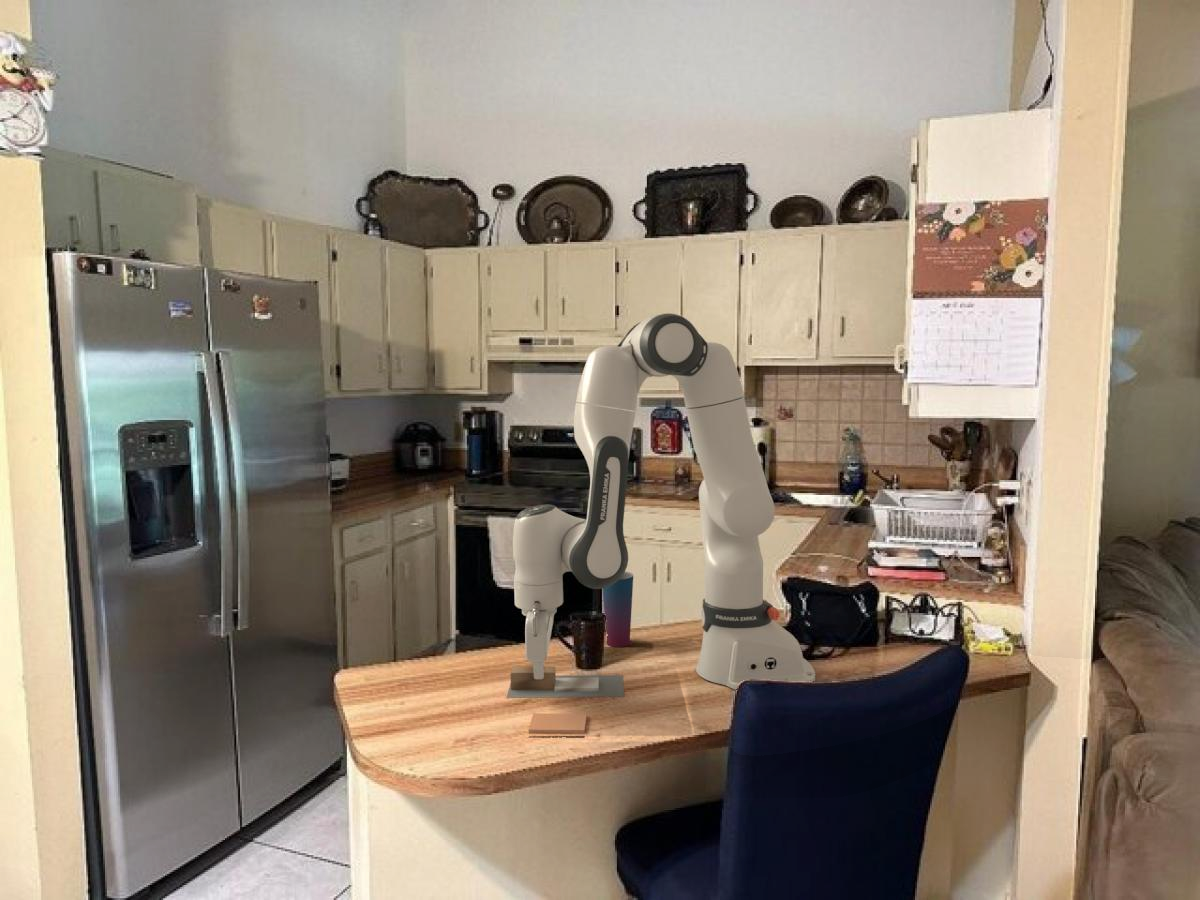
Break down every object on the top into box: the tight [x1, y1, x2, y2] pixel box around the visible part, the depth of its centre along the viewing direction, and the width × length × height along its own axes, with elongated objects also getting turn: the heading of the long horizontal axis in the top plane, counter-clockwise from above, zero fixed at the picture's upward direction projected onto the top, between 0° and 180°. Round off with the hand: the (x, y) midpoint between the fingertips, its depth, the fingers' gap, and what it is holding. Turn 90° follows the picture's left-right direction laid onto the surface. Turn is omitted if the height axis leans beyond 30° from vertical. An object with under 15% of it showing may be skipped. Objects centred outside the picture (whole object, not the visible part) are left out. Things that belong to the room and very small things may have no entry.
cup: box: [601, 571, 634, 648], centre depth 174 cm, size 7×7×15 cm
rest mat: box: [506, 674, 625, 699], centre depth 150 cm, size 21×10×1 cm, turn 90°
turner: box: [510, 665, 599, 692], centre depth 149 cm, size 16×5×3 cm, turn 90°
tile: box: [528, 712, 587, 739], centre depth 134 cm, size 2×6×9 cm
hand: (541, 667), depth 149 cm, fingers open, 8 cm apart
